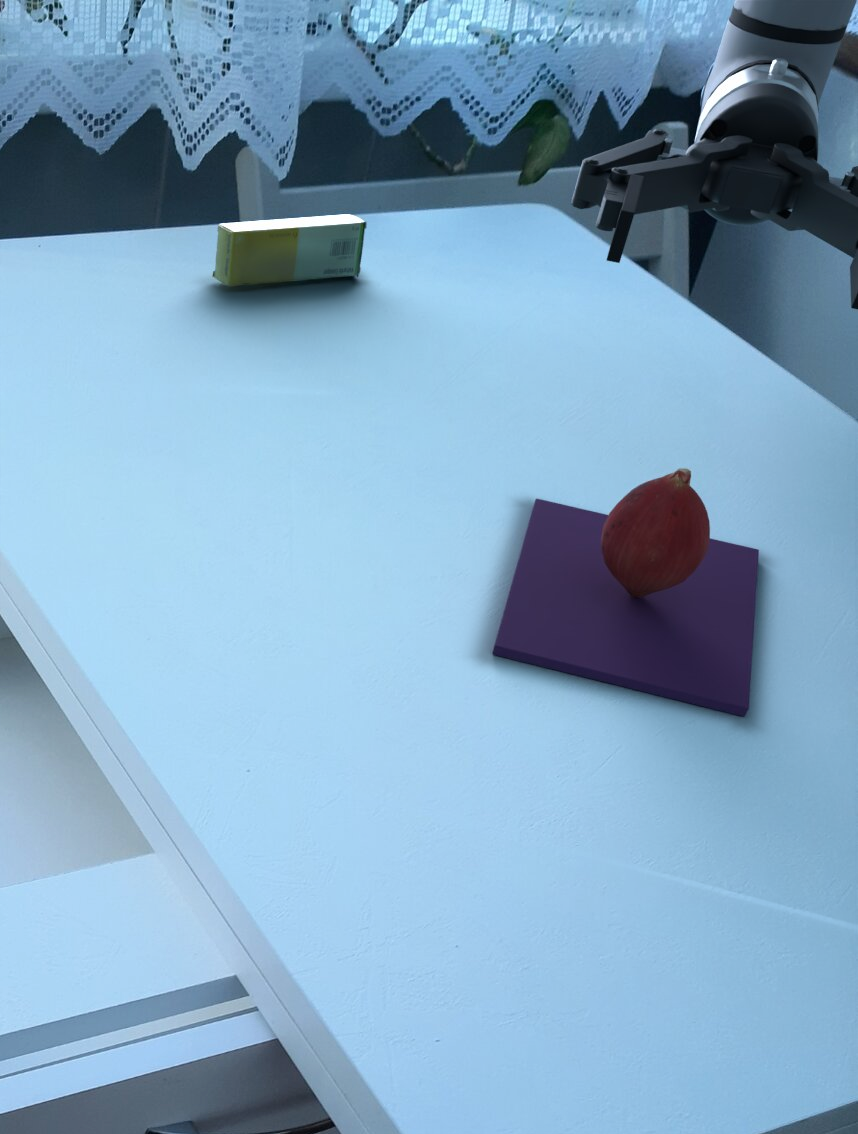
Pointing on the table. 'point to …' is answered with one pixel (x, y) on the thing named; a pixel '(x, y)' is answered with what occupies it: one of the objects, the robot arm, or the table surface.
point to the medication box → (289, 249)
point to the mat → (631, 615)
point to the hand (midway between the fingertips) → (742, 260)
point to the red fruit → (656, 535)
